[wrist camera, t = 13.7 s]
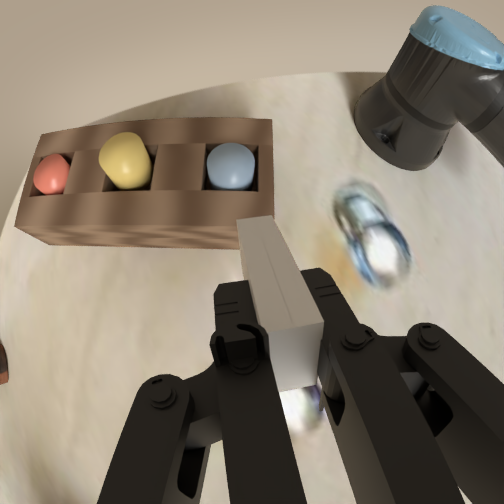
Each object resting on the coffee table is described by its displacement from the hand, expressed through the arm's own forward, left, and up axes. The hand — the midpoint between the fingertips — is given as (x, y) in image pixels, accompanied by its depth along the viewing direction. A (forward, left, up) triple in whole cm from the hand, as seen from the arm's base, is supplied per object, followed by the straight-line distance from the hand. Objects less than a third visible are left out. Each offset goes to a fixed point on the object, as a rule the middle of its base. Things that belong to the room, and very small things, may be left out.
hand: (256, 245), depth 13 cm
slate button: (+2, -11, -16) cm, 19 cm away
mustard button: (+12, -11, -13) cm, 21 cm away
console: (+12, -11, -20) cm, 26 cm away
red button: (+22, -11, -16) cm, 29 cm away
